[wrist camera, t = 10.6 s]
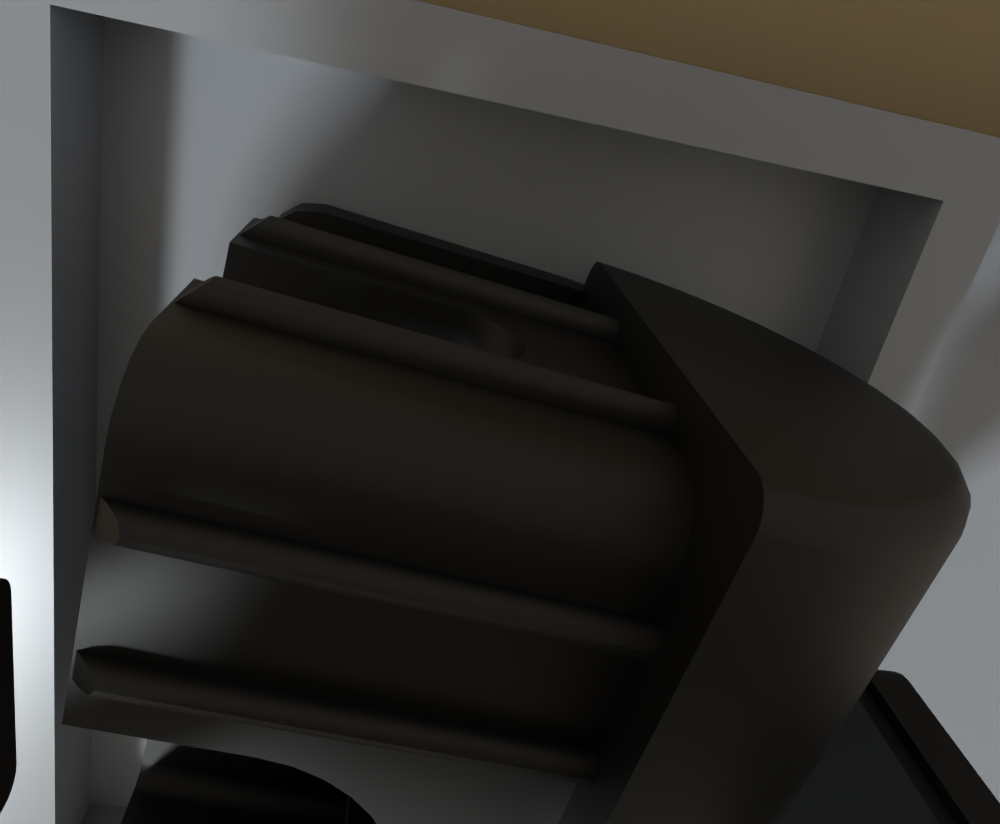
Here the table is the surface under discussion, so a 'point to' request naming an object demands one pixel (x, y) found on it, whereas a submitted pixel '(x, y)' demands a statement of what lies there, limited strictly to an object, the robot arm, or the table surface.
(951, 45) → the table surface
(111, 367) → the divided grey tray
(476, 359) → the end cap
